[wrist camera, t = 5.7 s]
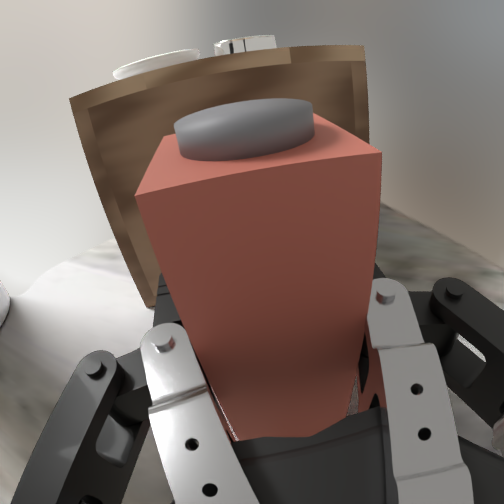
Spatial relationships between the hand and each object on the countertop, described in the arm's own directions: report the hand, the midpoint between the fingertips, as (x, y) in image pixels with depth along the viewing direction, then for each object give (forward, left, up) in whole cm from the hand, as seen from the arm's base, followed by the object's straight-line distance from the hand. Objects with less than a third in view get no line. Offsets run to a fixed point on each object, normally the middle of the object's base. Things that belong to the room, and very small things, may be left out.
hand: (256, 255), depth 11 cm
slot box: (0, +12, -6) cm, 14 cm away
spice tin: (0, -3, -6) cm, 7 cm away
